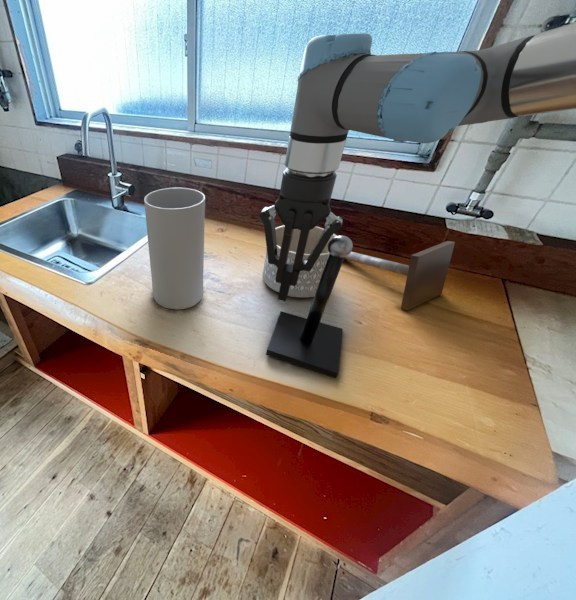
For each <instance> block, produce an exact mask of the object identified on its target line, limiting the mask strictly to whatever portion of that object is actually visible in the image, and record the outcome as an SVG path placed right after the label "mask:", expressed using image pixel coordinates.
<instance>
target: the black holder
mask: <svg viewBox="0 0 576 600" xmlns="http://www.w3.org/2000/svg"><path fill="white" fill-rule="evenodd" d="M353 248H354V245H353V241H352V239H350V237H348V236H346V235H337V236H336V237H334V238H332V239H331V240H330V242H329V244H328V251H329V256H328V259H327V261H326V264H325V267H324V270H323V273H322V276H321V279H320V282H319V285H318V287H317V290H316V293H315V296H314V297H313V300H312V301H311V305H310V308H309V310H308V314H307V316H306V317H304V316H299V315H296V314H293V313H288V312H285V311H280V312H279V314H278V317H277V319H276V322H275V326H274V329H273V331H272V334H271V337H270V340H269V342H268V346H267V349H266V352H265V356H268V357H270V358H274V359H277V360H280V361H283V362H286V363H289V364H292V365H296V366H298V367H301V368H304V369H307V370H311V371H313V372H316V373H319V374H322V375H325V376H327V377H331V378H334V379H336V378H337V377H338V375H339V370H340V361H341V352H342V351H341V350H342V342H343V333H344V329H343V328H341V327H338V326H335V325H331V324H329V323H324V322H321V321H322V318H323V315H324V312H325V311H326V308H327V305H328V302H329V299H330V297H331V294H332V291H333V289H334V286H335V284H336V281H337V279H338V276H339V274H340V270H341V269H342V266H343V263H344V262H345V261H344V258H345V257H346V256H347V255H349V254H350V253H351V252H353Z"/></svg>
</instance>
